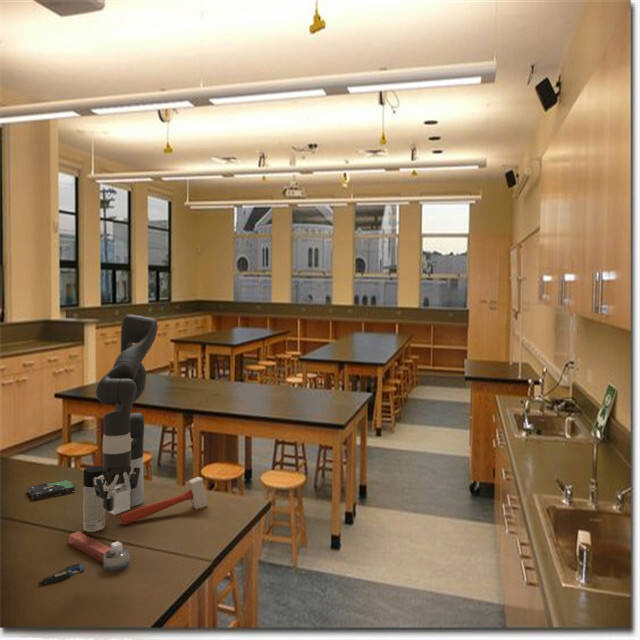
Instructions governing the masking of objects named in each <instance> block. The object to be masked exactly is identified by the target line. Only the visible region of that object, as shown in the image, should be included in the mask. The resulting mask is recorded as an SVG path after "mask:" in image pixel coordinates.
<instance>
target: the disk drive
mask: <svg viewBox="0 0 640 640" xmlns="http://www.w3.org/2000/svg"><path fill="white" fill-rule="evenodd" d="M72 491H75V492H76V487H75V485H74V484H73V483H72V482H71V481H70V479H66V480H65V479H64V480H59V481H53V482H47V483H43V484H38V485H31V486H27V493H28V492H29V493H28V495H29V494H30V495H29V497H30V496H31V497H30V499H31V498H32V499H33V500H34V499H39V500H42V499H41V498H44V499H47V498H46V497H49V498H52V497H51V496H54V497H56V496H55V495H59V494H64V493H68V492H72ZM64 495H65V494H64ZM59 496H60V495H59ZM33 500H32V501H33ZM34 501H35V500H34Z"/></svg>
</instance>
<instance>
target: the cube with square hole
mask: <svg viewBox="0 0 640 640" xmlns="http://www.w3.org/2000/svg"><path fill="white" fill-rule="evenodd" d="M104 510H105V509H104ZM128 510H131V507H130V489H129V488H126V487H124V486H123V487H122V486H121V485H119V486H115V489H114V491H113V492H112V495H111V511H109V512H108V511H106V510H105V512H108V513H109V514H111V515H117V514H119V513H120V514H121V513H123V512H126V511H128Z"/></svg>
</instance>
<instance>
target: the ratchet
mask: <svg viewBox="0 0 640 640" xmlns="http://www.w3.org/2000/svg"><path fill="white" fill-rule="evenodd" d="M68 544H69V545H71V546H73V547H74V548H76V549H78V550H80V551H81V552H83V553H84V554H87V556H90V557H91V558H93V559H96V560H97V561H99V562H101V563H103V570H104V571H106V572H109V573H117V571H118V572H122V571H124V570H126V569H128V568H129V566H130V565H131V564H130V563H131V562H130V561H131V559H130V553H131V552H130V550H129V549H128V548H124V547H123V542H121V541H119V540H117V541H115V542H112V543H110V547H109V546H107V545H105V544H103V543H102V542H100V541H98V540H96V539H94V538H93V537H90V536H88V535H86V534H85V533H83V532H81V531H79V530H78V531H76V532H72V533H70V534H68Z"/></svg>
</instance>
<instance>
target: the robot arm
mask: <svg viewBox="0 0 640 640" xmlns="http://www.w3.org/2000/svg"><path fill="white" fill-rule="evenodd" d="M120 328H121V329H120V354H119V355H118V356H117V357H116V359H115V362H114V364H113V367H112V368H111V369H110V370H109V371H108V372H107V373H105V375H104V376H103V377H102V378H101V379H100V380H99V382H98V384H97V387H96V389H95V396H96V398H97V400H98V401H99V402H100V403H102V404H105V405H108V404H109V405H110V404H111V405H115V407H114V410H113V411H109V412H106V413H105V414H104V416H103V437H102V467H103V468H104V470H103V473H102V475H101V476H99V477H97V478H96V477H94V478H93V479H92V480H93V484H94V488H95V492H96V496H97V497H100V498H101V499H103V508H104V509H105V510H106V511H105V512H107V511H108V513H110V512H109V511H111V495H112V492H113V491H114V489H115V486H119V485H121V486H122V487H123V486H124V487H126V488H129V489H130V508H131V507H136V506H139V505H141V504H142V503H144V441H145V440H144V438H145V418H144V416H143V413H142V412H132V410H133V404H134V403H136V401H137V400H139V398H140V397H141V395H142V394H143V393H144V391H145V388H146V381H147V380H146V379H147V371H146V368H145V366H144V364H143V363H142V362H143V360H144V358H145V357H146V355H148V352H150V349H151V348H152V346H153V344H154V342H155V340H156V337H157V334H158V321H157V320H156V319H155V318H152V317H148V316H143V315H137V314H132V313H131V314H129V313H128V314H126V315H125V316H124V318H123V319H122V321H121V327H120ZM104 479H105V484H104V489H103V485H102V484H103V480H104Z"/></svg>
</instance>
